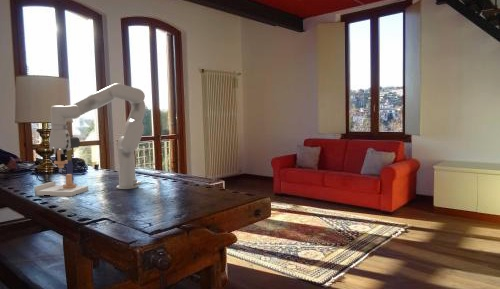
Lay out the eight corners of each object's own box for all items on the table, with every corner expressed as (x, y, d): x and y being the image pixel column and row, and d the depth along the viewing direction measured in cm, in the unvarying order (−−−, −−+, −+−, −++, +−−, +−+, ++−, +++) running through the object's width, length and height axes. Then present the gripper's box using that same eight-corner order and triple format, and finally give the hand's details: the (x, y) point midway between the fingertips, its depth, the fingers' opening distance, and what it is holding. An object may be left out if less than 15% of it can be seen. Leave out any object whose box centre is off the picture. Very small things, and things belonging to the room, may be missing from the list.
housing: (88, 190, 216) (87, 173, 215) (71, 196, 200) (70, 178, 199) (54, 189, 219) (53, 172, 218) (34, 195, 203) (34, 177, 202)
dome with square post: (70, 166, 208) (69, 149, 207) (62, 168, 201) (61, 150, 200) (59, 166, 209) (58, 149, 208) (51, 168, 202) (50, 150, 201)
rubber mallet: (63, 184, 235) (61, 137, 232) (58, 182, 240) (56, 137, 237) (82, 181, 244) (80, 136, 242) (77, 180, 249) (75, 136, 247)
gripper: (76, 127, 205) (77, 160, 207) (50, 127, 208) (51, 159, 209) (68, 128, 198) (69, 161, 199) (41, 128, 200) (42, 161, 202)
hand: (60, 160), depth 204 cm, fingers closed on dome with square post
